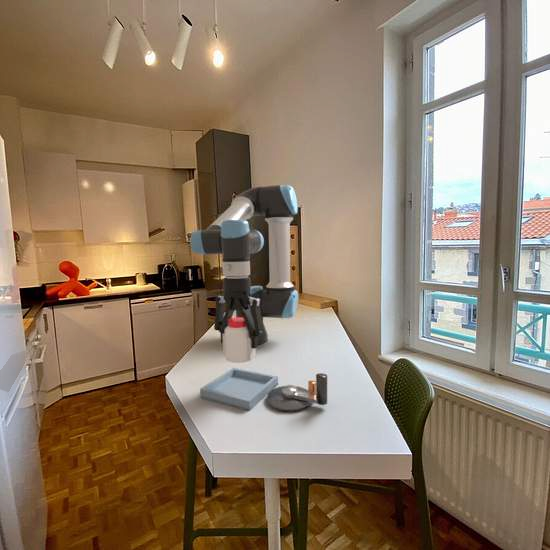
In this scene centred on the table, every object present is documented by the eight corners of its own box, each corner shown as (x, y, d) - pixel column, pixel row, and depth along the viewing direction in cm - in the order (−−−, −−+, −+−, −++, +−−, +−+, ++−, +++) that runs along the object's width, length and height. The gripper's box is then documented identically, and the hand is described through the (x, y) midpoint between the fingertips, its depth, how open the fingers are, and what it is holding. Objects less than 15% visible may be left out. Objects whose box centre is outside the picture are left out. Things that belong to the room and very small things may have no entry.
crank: (279, 396, 83) (279, 371, 82) (286, 390, 87) (285, 365, 86) (324, 407, 78) (324, 379, 77) (329, 399, 81) (329, 373, 80)
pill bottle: (241, 364, 84) (240, 324, 83) (219, 359, 88) (218, 321, 87) (258, 355, 90) (257, 318, 89) (237, 351, 94) (235, 315, 93)
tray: (200, 397, 87) (199, 388, 87) (233, 375, 101) (233, 367, 101) (249, 410, 79) (249, 401, 79) (278, 384, 94) (277, 376, 93)
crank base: (259, 405, 82) (258, 386, 81) (279, 386, 92) (279, 369, 92) (304, 417, 76) (304, 396, 75) (320, 395, 87) (320, 377, 86)
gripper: (198, 277, 88) (202, 355, 90) (262, 279, 79) (264, 367, 81) (215, 274, 95) (218, 347, 97) (276, 276, 85) (277, 357, 88)
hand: (239, 356), depth 89 cm, fingers closed on pill bottle, 8 cm apart
